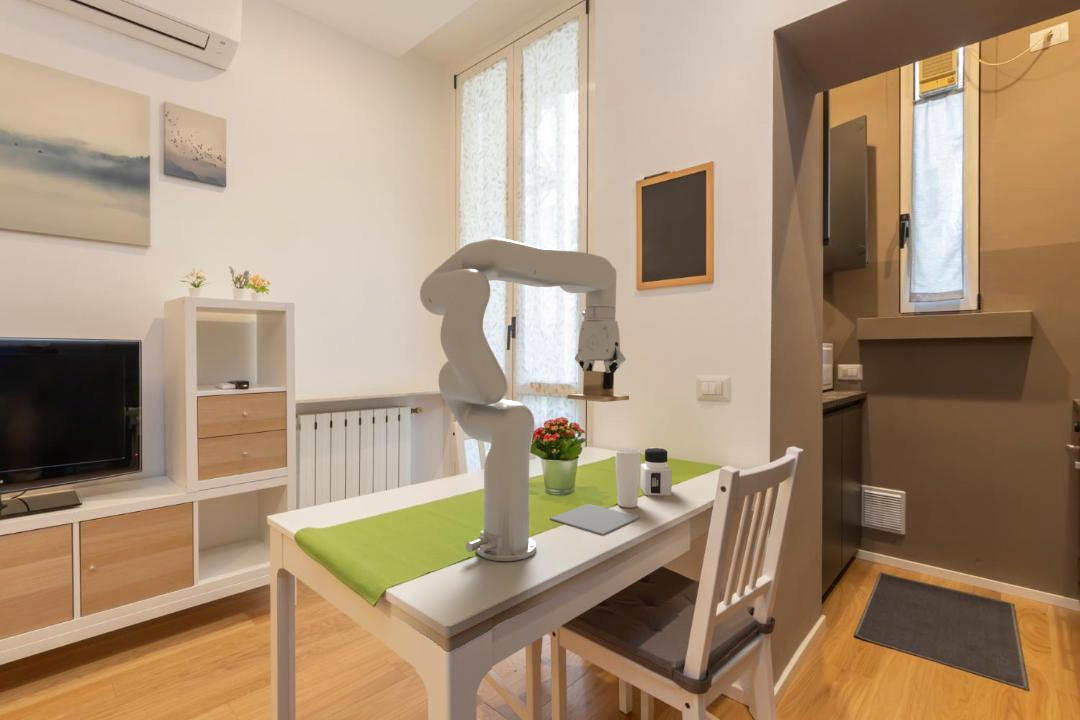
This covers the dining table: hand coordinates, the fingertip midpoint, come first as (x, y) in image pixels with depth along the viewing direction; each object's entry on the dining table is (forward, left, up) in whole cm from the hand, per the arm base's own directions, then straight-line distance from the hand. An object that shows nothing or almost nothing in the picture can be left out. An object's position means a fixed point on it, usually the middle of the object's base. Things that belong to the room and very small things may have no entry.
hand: (598, 387), depth 129 cm
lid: (0, 0, -3) cm, 3 cm away
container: (+31, +1, -33) cm, 45 cm away
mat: (-1, 0, -33) cm, 33 cm away
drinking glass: (+14, 0, -33) cm, 36 cm away
